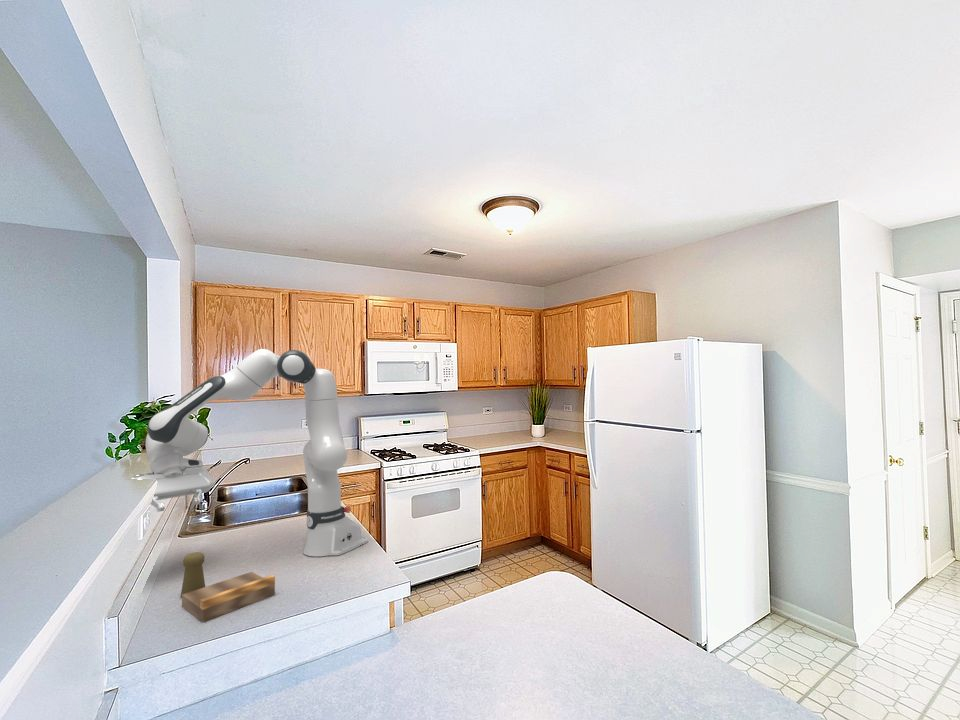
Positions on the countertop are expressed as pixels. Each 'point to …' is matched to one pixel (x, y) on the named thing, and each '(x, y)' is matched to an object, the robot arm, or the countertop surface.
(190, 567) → the cork
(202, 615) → the dock
